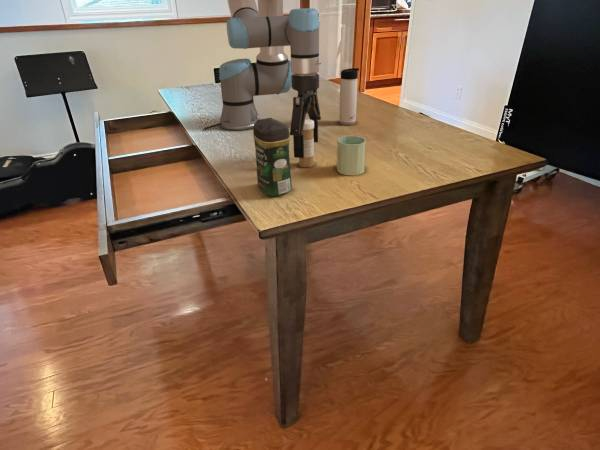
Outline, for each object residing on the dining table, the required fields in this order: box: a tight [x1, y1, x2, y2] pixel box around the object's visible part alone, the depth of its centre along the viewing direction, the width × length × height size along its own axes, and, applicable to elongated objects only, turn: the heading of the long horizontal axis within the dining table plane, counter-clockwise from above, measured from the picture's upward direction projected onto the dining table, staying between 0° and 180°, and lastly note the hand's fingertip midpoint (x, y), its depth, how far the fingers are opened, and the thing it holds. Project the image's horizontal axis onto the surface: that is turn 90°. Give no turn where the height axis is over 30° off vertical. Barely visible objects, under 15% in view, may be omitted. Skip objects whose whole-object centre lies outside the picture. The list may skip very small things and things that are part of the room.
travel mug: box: [338, 67, 360, 126], centre depth 154 cm, size 6×7×20 cm
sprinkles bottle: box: [298, 118, 315, 168], centre depth 121 cm, size 5×5×13 cm
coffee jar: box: [252, 117, 293, 197], centre depth 105 cm, size 10×8×19 cm
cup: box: [336, 134, 367, 176], centre depth 118 cm, size 8×8×9 cm
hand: (306, 149), depth 121 cm, fingers open, 13 cm apart
